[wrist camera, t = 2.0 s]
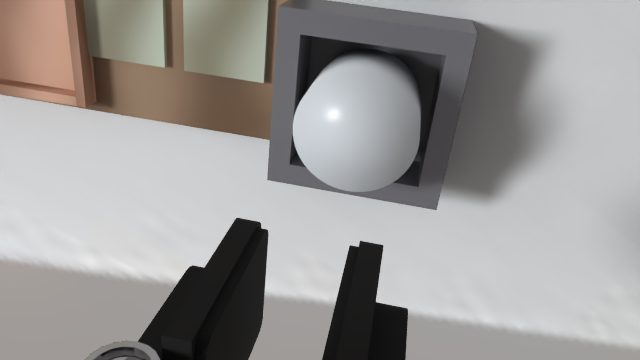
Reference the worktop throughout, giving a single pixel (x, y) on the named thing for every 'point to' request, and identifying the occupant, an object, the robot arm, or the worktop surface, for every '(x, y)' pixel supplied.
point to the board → (146, 58)
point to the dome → (359, 121)
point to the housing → (389, 36)
